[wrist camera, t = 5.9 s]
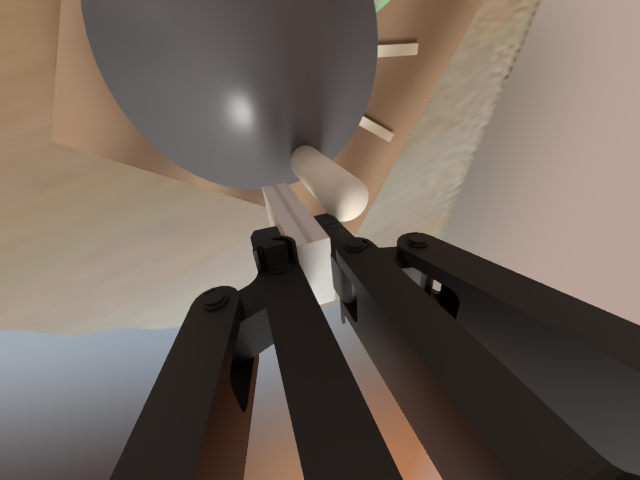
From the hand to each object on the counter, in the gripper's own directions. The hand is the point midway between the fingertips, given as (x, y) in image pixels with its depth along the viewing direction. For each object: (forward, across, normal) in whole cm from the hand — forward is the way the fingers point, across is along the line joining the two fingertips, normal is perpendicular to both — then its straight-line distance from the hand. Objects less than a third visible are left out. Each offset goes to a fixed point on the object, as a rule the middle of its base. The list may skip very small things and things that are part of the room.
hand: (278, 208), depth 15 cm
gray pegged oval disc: (+4, +2, +8) cm, 9 cm away
